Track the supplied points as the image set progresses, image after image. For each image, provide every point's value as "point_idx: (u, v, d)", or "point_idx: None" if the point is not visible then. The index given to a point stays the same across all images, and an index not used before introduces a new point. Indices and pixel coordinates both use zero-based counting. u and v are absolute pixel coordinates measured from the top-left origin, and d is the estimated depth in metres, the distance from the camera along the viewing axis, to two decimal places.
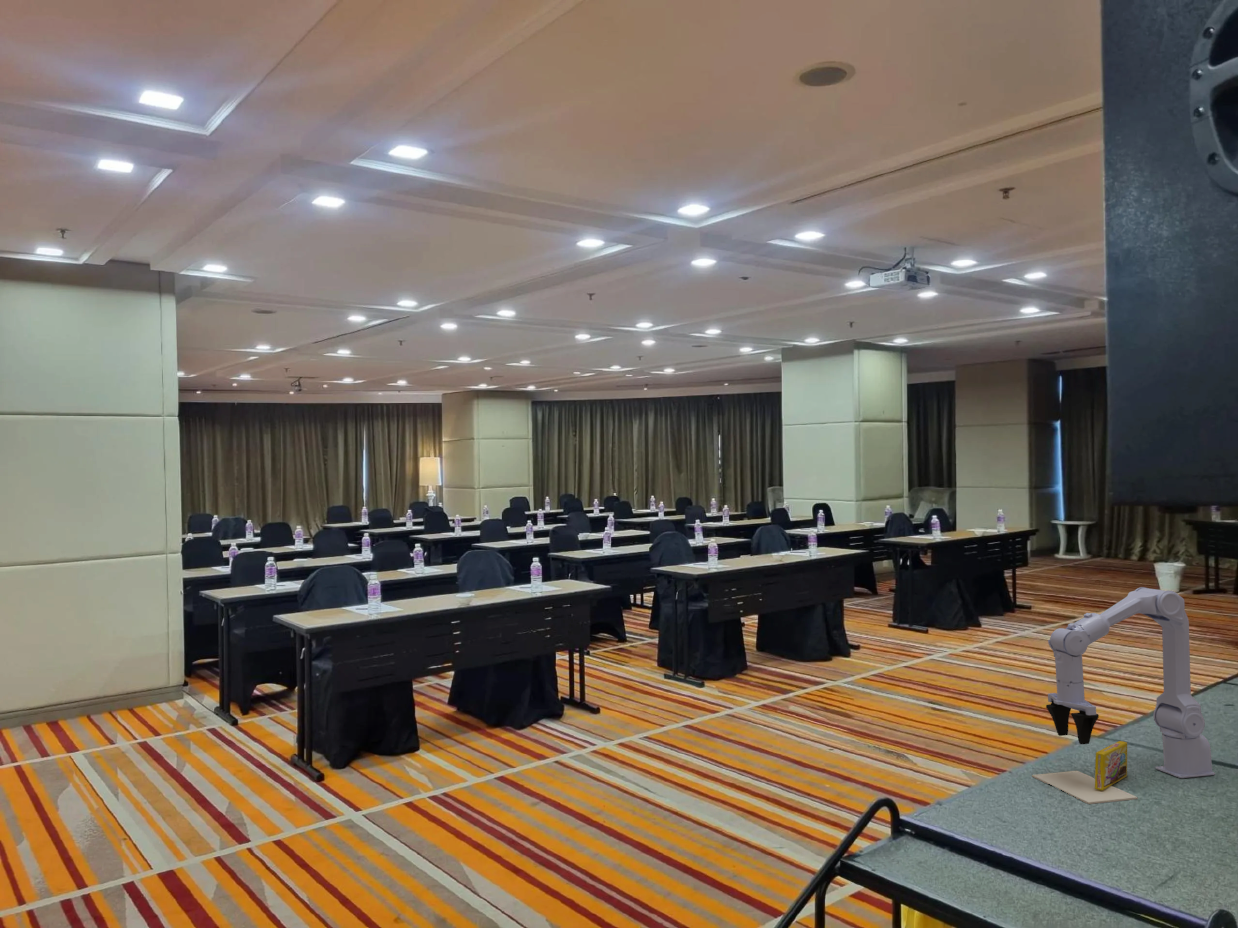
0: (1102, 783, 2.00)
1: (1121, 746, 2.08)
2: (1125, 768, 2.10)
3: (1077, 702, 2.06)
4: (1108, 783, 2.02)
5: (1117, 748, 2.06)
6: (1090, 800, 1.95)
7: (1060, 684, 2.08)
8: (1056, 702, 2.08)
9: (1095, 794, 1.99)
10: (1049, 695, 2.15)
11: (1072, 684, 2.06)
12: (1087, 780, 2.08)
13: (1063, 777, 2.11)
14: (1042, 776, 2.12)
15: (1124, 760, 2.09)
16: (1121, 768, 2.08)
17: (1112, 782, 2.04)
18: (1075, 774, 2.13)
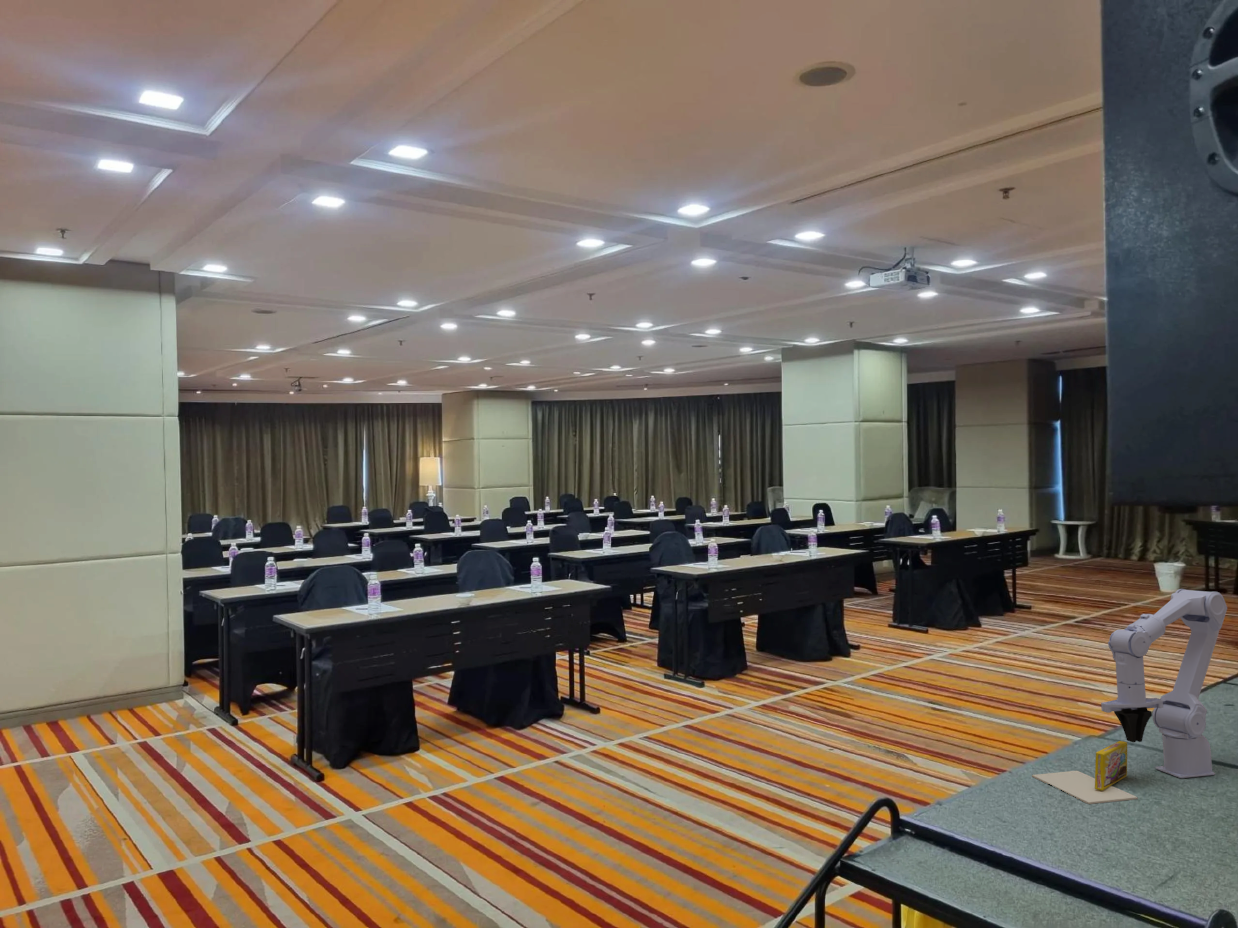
0: (1102, 783, 2.00)
1: (1121, 746, 2.08)
2: (1125, 768, 2.10)
3: (1119, 701, 2.08)
4: (1108, 783, 2.02)
5: (1117, 748, 2.06)
6: (1090, 800, 1.95)
7: None
8: None
9: (1095, 794, 1.99)
10: None
11: (1117, 682, 2.09)
12: (1087, 780, 2.08)
13: (1063, 777, 2.11)
14: (1042, 776, 2.12)
15: (1124, 760, 2.09)
16: (1121, 768, 2.08)
17: (1112, 782, 2.04)
18: (1075, 774, 2.13)
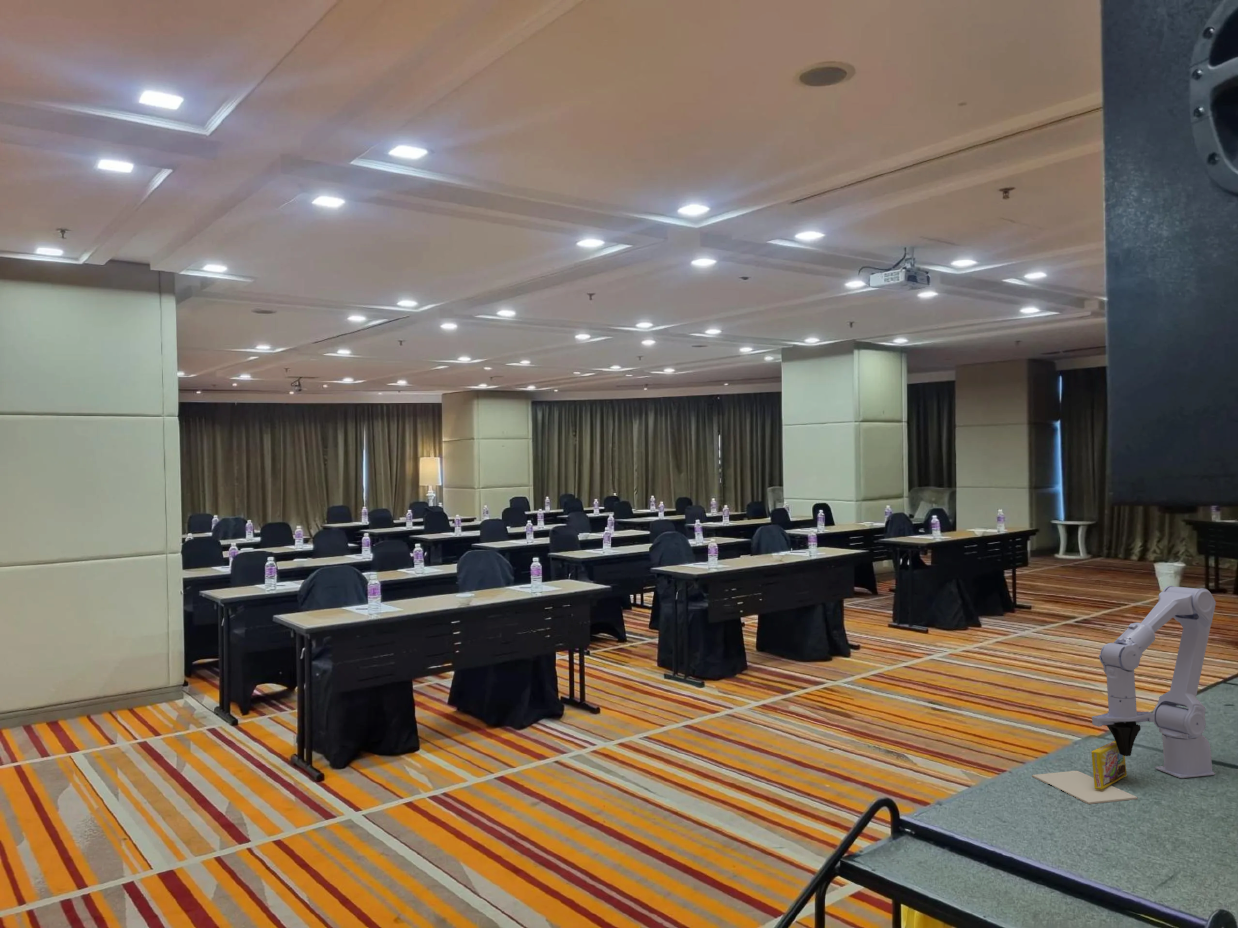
0: (1101, 782, 2.00)
1: None
2: (1124, 767, 2.10)
3: (1110, 715, 2.07)
4: (1108, 782, 2.03)
5: (1113, 746, 2.07)
6: (1090, 800, 1.95)
7: None
8: None
9: (1095, 794, 1.99)
10: None
11: (1108, 696, 2.08)
12: (1087, 780, 2.08)
13: (1063, 777, 2.11)
14: (1042, 776, 2.12)
15: (1122, 759, 2.10)
16: (1120, 767, 2.08)
17: (1112, 781, 2.04)
18: (1075, 774, 2.13)
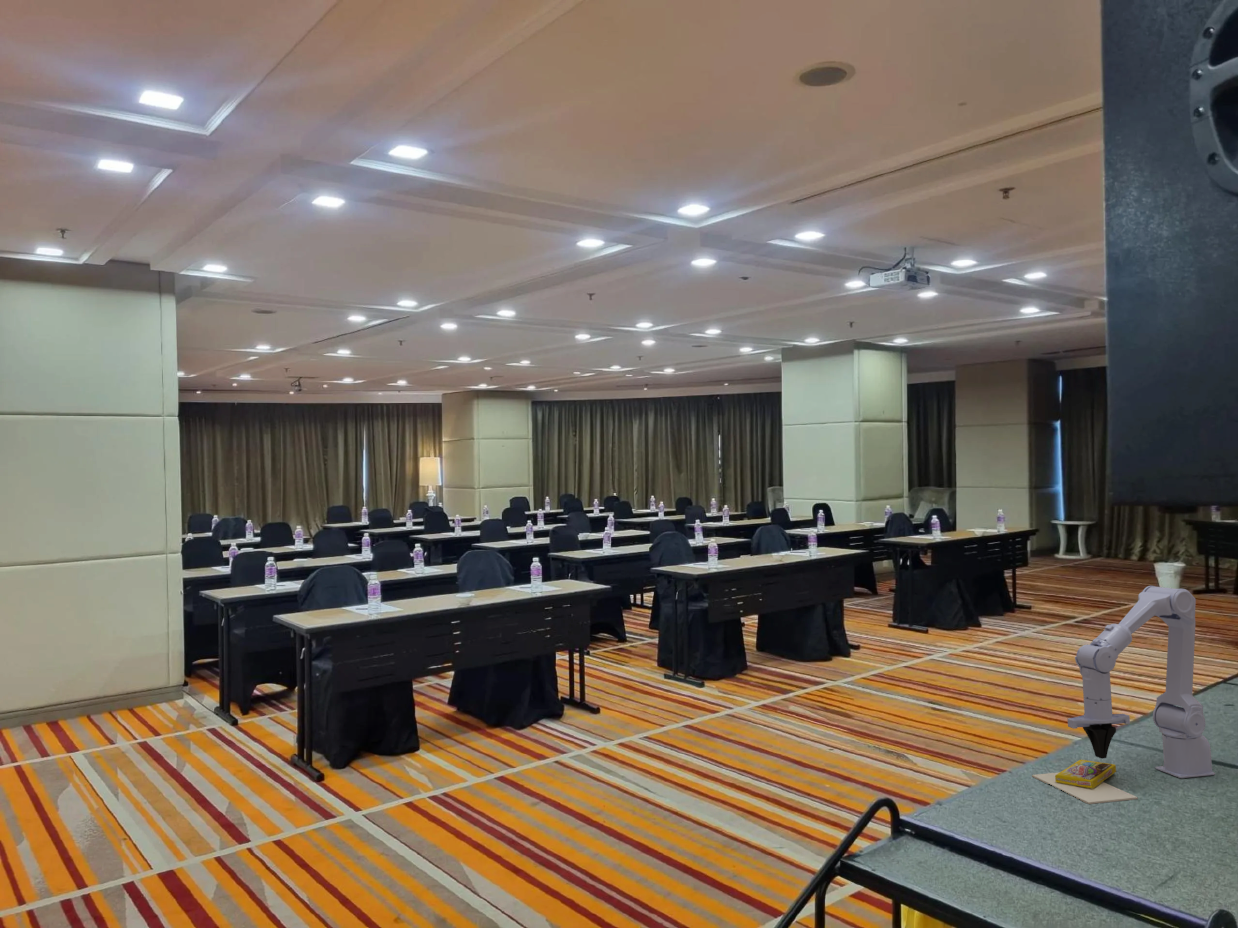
0: (1085, 780, 2.03)
1: (1075, 763, 2.16)
2: (1104, 763, 2.13)
3: (1085, 717, 2.06)
4: (1093, 776, 2.05)
5: (1071, 765, 2.14)
6: (1090, 800, 1.95)
7: None
8: None
9: (1095, 794, 1.99)
10: None
11: None
12: None
13: None
14: (1042, 776, 2.12)
15: (1093, 763, 2.14)
16: (1098, 766, 2.12)
17: (1099, 773, 2.06)
18: None
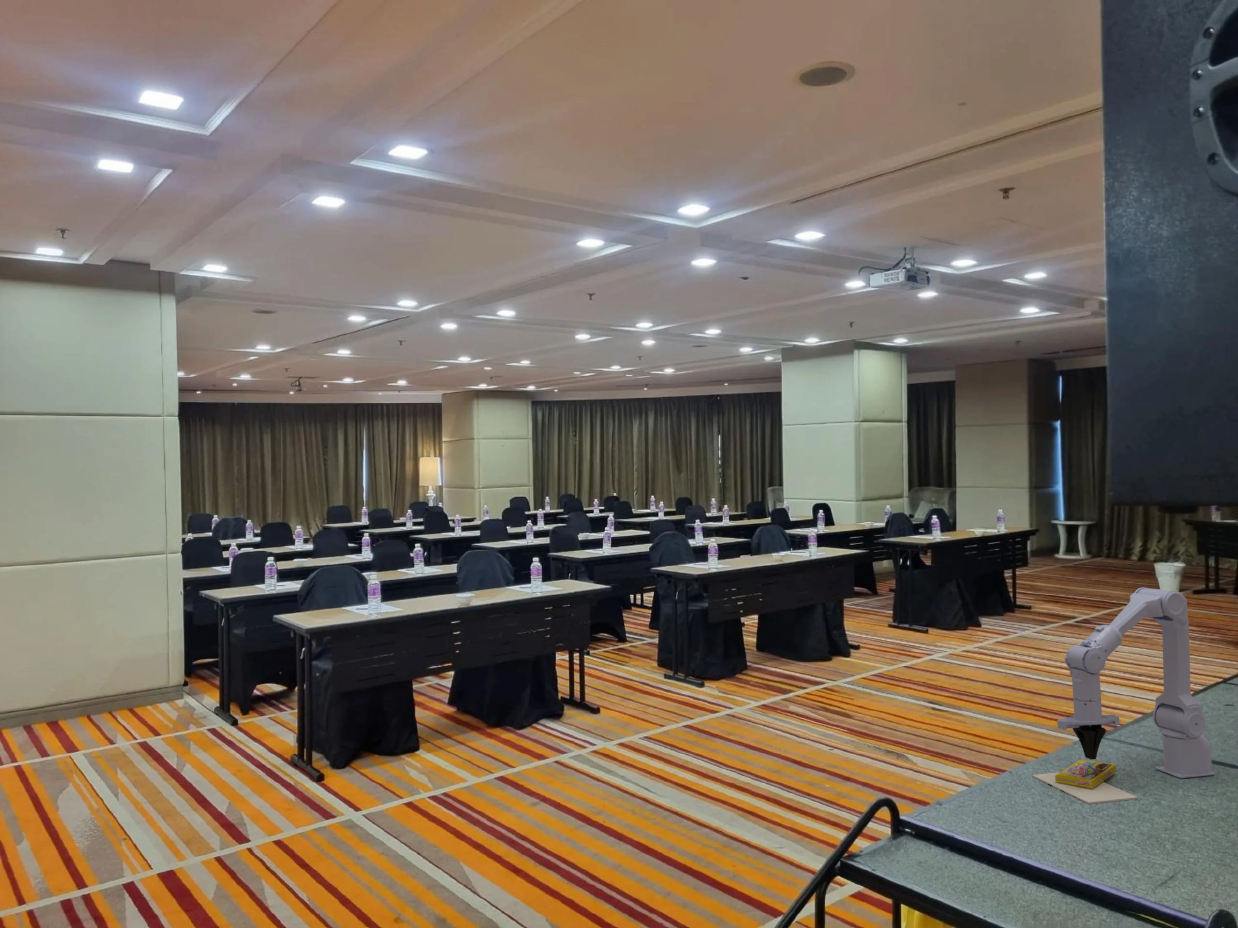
0: (1085, 780, 2.03)
1: (1075, 763, 2.16)
2: (1104, 763, 2.13)
3: (1075, 718, 2.06)
4: (1093, 776, 2.05)
5: (1071, 765, 2.14)
6: (1090, 800, 1.95)
7: None
8: None
9: (1095, 794, 1.99)
10: None
11: (1073, 699, 2.07)
12: None
13: None
14: (1042, 776, 2.12)
15: (1093, 763, 2.14)
16: (1098, 766, 2.12)
17: (1099, 773, 2.06)
18: None
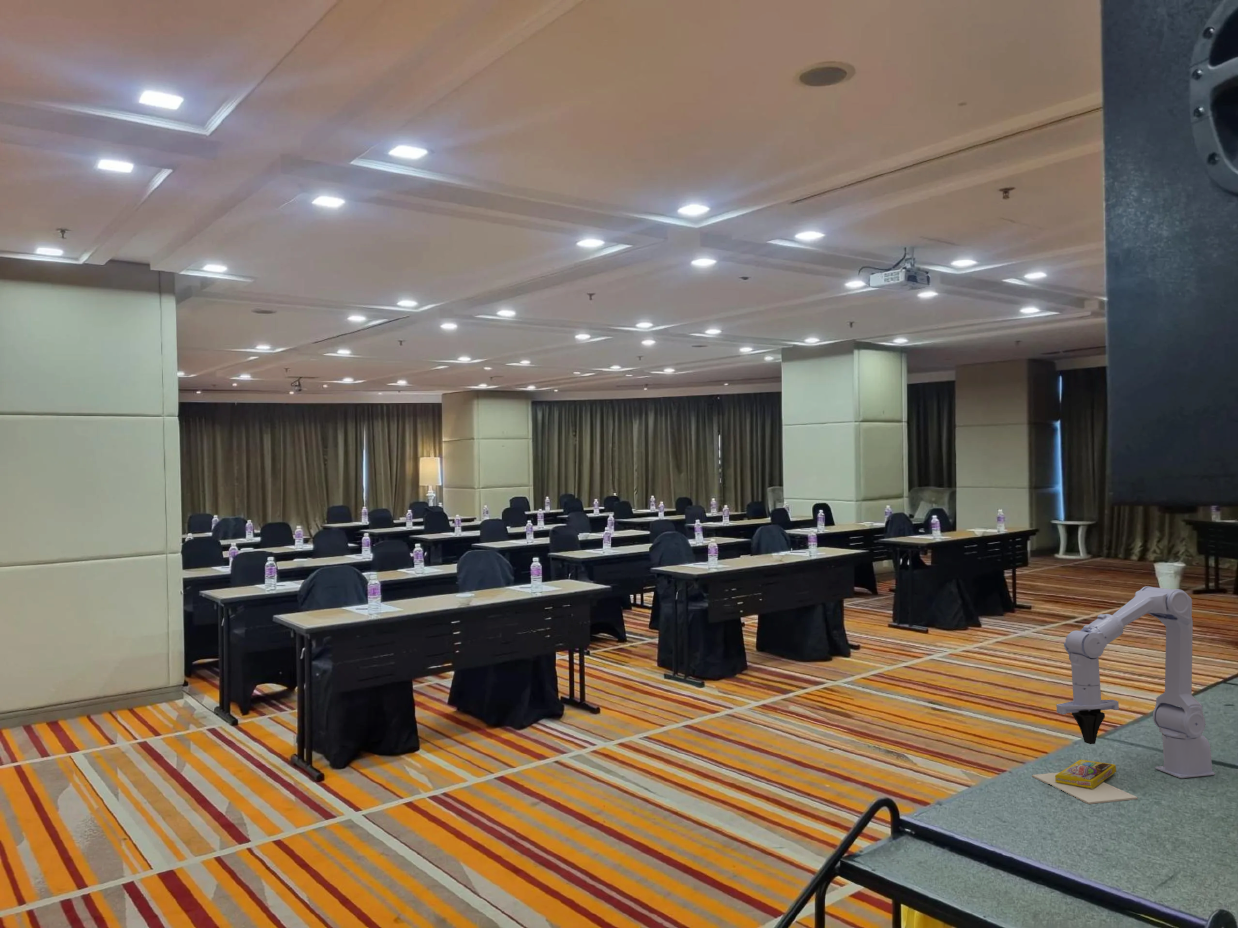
0: (1085, 780, 2.03)
1: (1075, 763, 2.16)
2: (1104, 763, 2.13)
3: (1074, 703, 2.06)
4: (1093, 776, 2.05)
5: (1071, 765, 2.14)
6: (1090, 800, 1.95)
7: None
8: None
9: (1095, 794, 1.99)
10: None
11: None
12: None
13: None
14: (1042, 776, 2.12)
15: (1093, 763, 2.14)
16: (1098, 766, 2.12)
17: (1099, 773, 2.06)
18: None
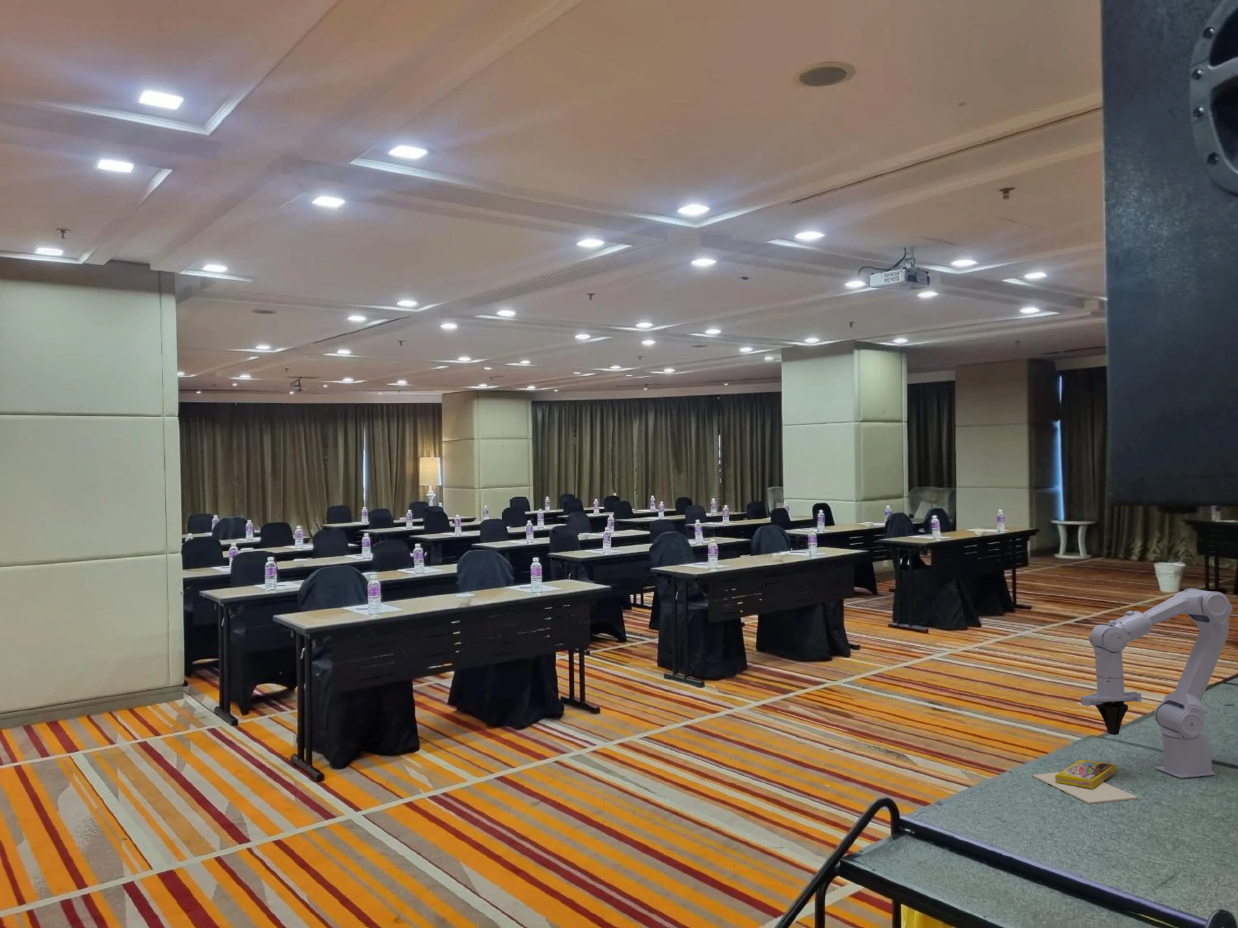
0: (1085, 780, 2.03)
1: (1075, 763, 2.16)
2: (1104, 763, 2.13)
3: (1098, 695, 2.12)
4: (1093, 776, 2.05)
5: (1071, 765, 2.14)
6: (1090, 800, 1.95)
7: None
8: None
9: (1095, 794, 1.99)
10: None
11: (1096, 677, 2.13)
12: None
13: None
14: (1042, 776, 2.12)
15: (1093, 763, 2.14)
16: (1098, 766, 2.12)
17: (1099, 773, 2.06)
18: None
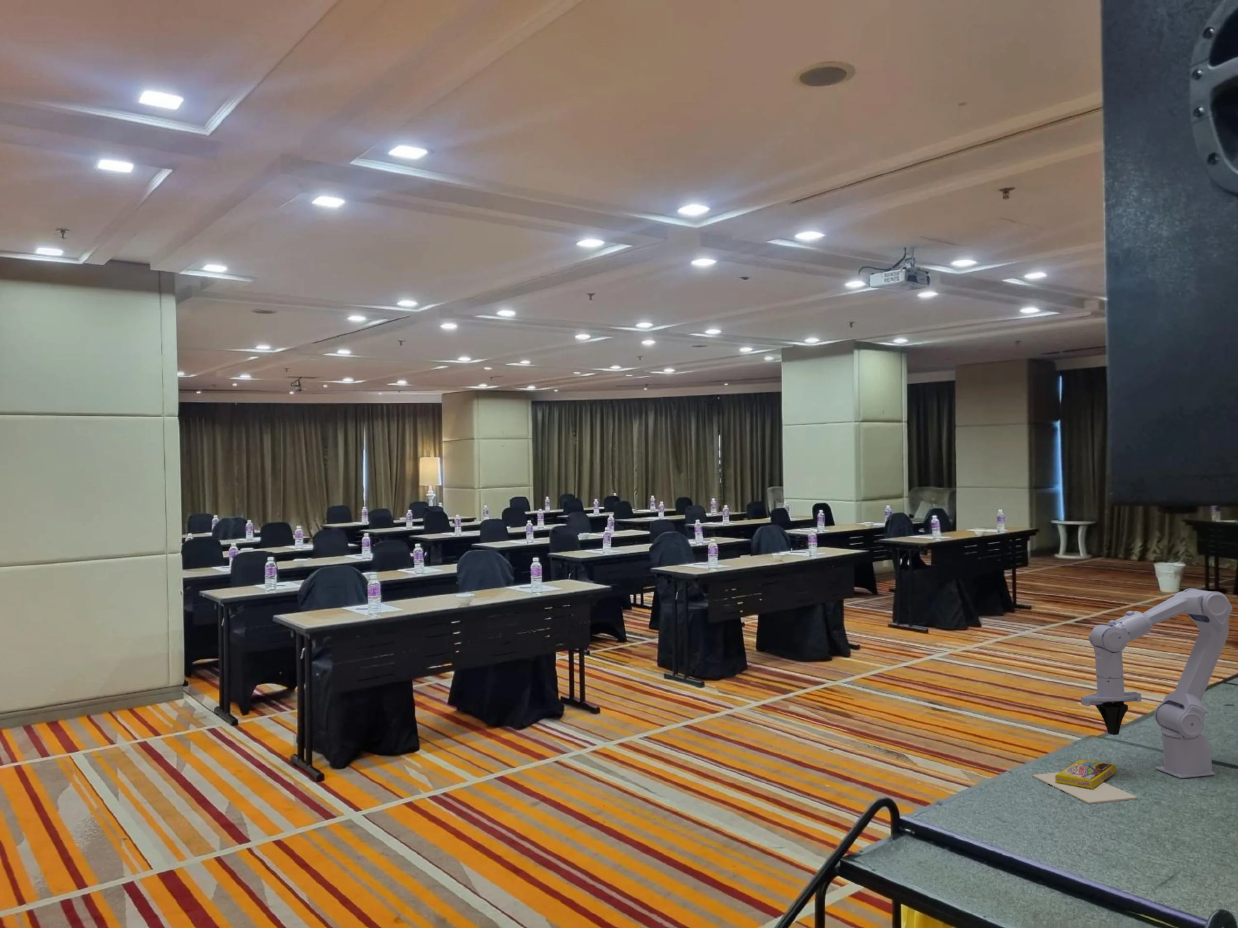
0: (1085, 780, 2.03)
1: (1075, 763, 2.16)
2: (1104, 763, 2.13)
3: (1098, 695, 2.12)
4: (1093, 776, 2.05)
5: (1071, 765, 2.14)
6: (1090, 800, 1.95)
7: None
8: None
9: (1095, 794, 1.99)
10: None
11: (1096, 677, 2.13)
12: None
13: None
14: (1042, 776, 2.12)
15: (1093, 763, 2.14)
16: (1098, 766, 2.12)
17: (1099, 773, 2.06)
18: None
